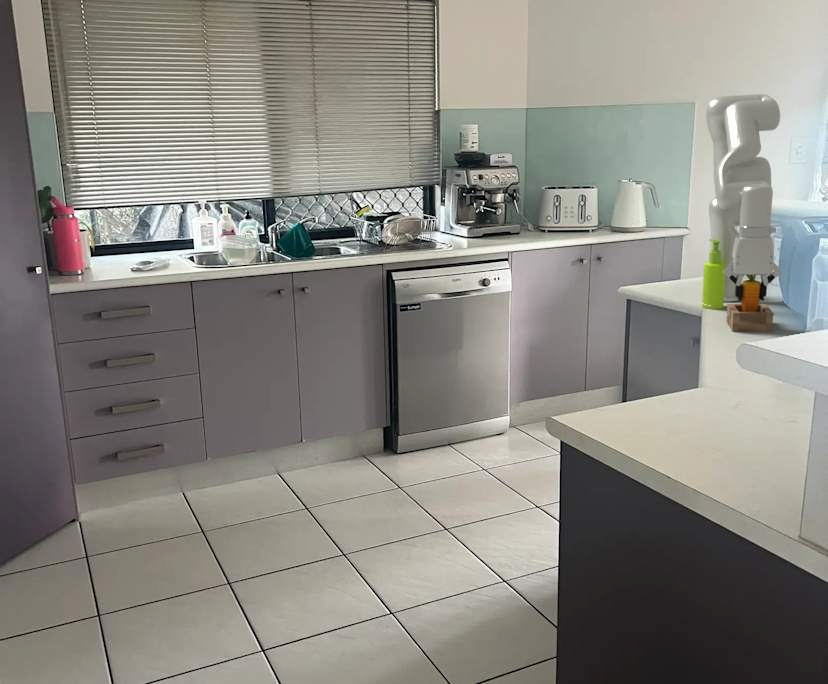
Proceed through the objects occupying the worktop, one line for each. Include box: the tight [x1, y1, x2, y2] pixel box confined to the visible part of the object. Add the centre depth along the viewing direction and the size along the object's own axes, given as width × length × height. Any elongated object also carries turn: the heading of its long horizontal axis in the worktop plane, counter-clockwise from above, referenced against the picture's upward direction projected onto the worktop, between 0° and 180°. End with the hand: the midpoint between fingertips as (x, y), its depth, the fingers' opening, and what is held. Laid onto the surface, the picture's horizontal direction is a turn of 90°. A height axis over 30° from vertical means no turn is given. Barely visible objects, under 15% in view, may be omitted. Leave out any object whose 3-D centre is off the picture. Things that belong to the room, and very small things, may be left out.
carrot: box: [740, 272, 761, 312], centre depth 225 cm, size 5×5×15 cm
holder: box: [726, 303, 774, 332], centre depth 227 cm, size 10×10×5 cm
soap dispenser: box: [701, 238, 725, 310], centre depth 246 cm, size 6×7×20 cm
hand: (750, 298), depth 225 cm, fingers closed on carrot, 4 cm apart
